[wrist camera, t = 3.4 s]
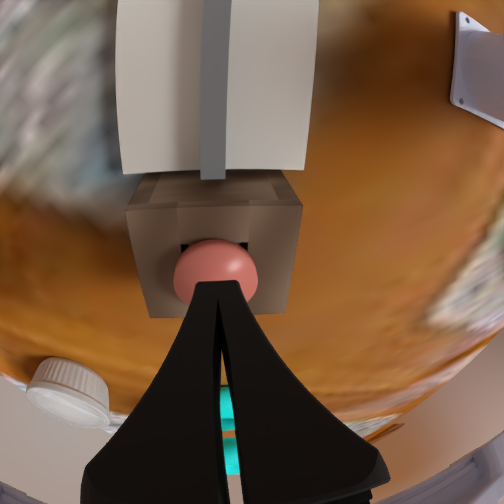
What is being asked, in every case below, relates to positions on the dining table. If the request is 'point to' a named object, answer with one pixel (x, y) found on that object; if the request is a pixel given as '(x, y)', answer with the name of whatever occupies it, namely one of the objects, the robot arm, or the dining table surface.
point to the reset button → (214, 267)
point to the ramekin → (70, 393)
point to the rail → (214, 84)
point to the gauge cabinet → (214, 230)
